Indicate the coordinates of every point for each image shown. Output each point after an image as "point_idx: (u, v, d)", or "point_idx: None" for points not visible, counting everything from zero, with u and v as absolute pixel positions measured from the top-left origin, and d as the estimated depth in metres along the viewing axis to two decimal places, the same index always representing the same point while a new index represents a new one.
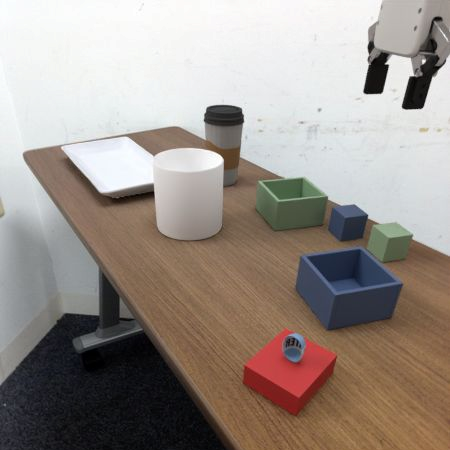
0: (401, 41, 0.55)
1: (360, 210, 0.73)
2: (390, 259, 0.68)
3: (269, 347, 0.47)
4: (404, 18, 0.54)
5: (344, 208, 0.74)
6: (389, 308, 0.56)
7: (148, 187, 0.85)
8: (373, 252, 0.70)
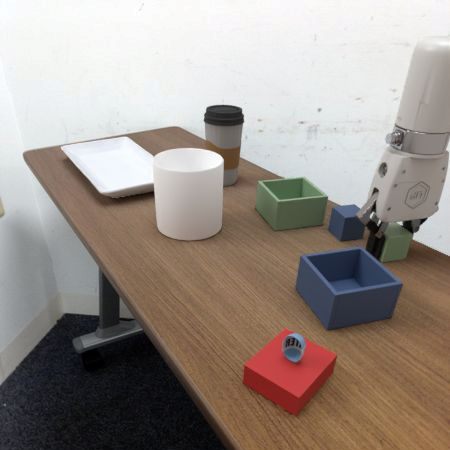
0: None
1: None
2: (390, 259, 0.68)
3: (269, 347, 0.47)
4: None
5: (344, 208, 0.74)
6: (389, 308, 0.56)
7: (148, 187, 0.85)
8: None
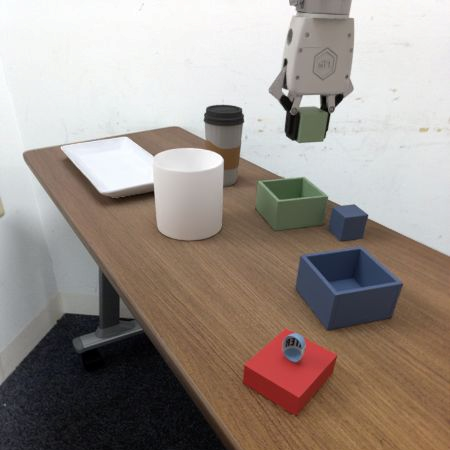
0: None
1: (360, 210, 0.73)
2: (307, 140, 0.69)
3: (269, 347, 0.47)
4: None
5: (344, 208, 0.74)
6: (389, 308, 0.56)
7: (148, 187, 0.85)
8: None
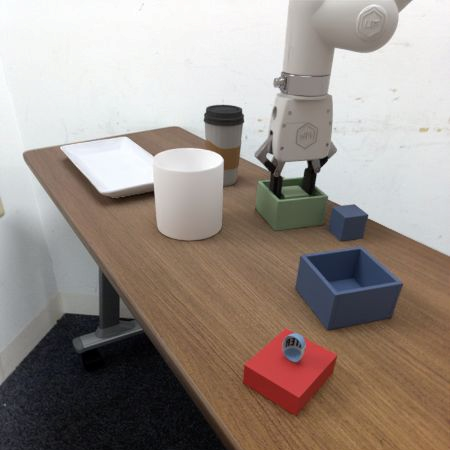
0: None
1: (360, 210, 0.73)
2: None
3: (269, 347, 0.47)
4: None
5: (344, 208, 0.74)
6: (389, 308, 0.56)
7: (148, 187, 0.85)
8: None
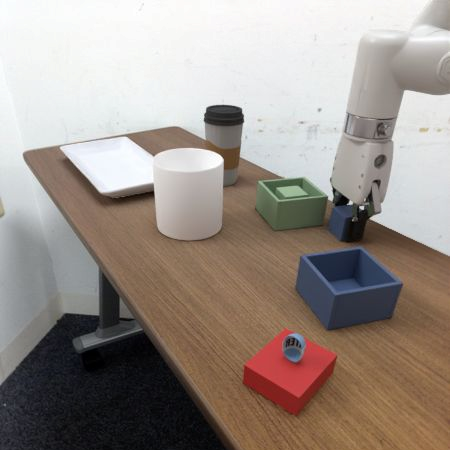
0: (350, 191, 0.68)
1: (360, 210, 0.73)
2: None
3: (269, 347, 0.47)
4: (351, 175, 0.67)
5: (344, 208, 0.74)
6: (389, 308, 0.56)
7: (148, 187, 0.85)
8: None
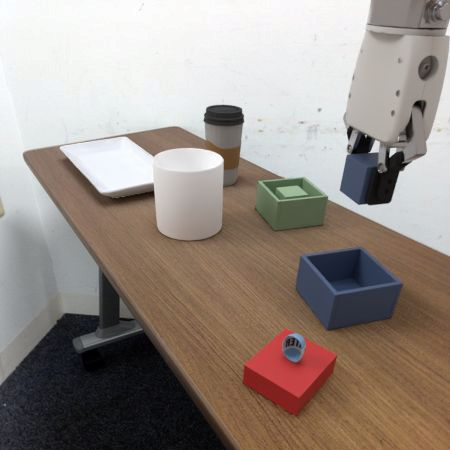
0: (376, 124, 0.44)
1: None
2: None
3: (269, 347, 0.47)
4: (379, 98, 0.43)
5: (365, 156, 0.50)
6: (389, 308, 0.56)
7: (148, 187, 0.85)
8: None
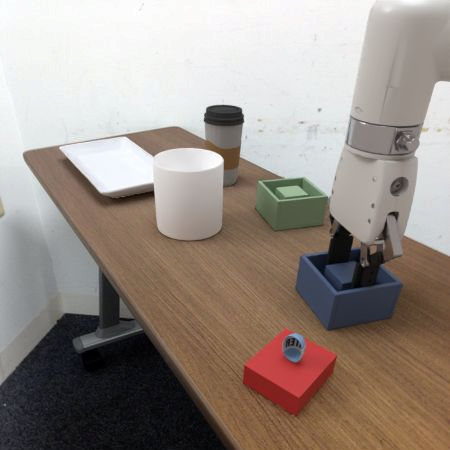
0: (355, 226, 0.49)
1: None
2: None
3: (269, 347, 0.47)
4: (357, 204, 0.48)
5: (341, 268, 0.57)
6: (389, 308, 0.56)
7: (148, 187, 0.85)
8: None
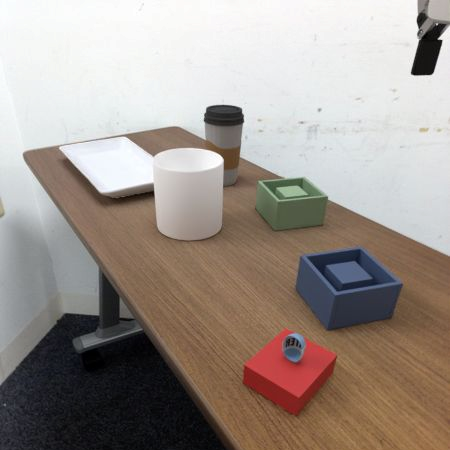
0: None
1: (362, 271, 0.56)
2: None
3: (269, 347, 0.47)
4: None
5: (341, 268, 0.57)
6: (389, 308, 0.56)
7: (148, 187, 0.85)
8: None
